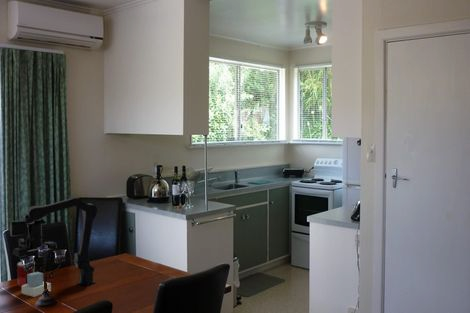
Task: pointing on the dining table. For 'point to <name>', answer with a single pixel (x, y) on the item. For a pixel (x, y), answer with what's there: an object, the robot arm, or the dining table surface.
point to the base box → (35, 289)
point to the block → (35, 279)
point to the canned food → (23, 274)
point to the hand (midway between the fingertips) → (35, 266)
